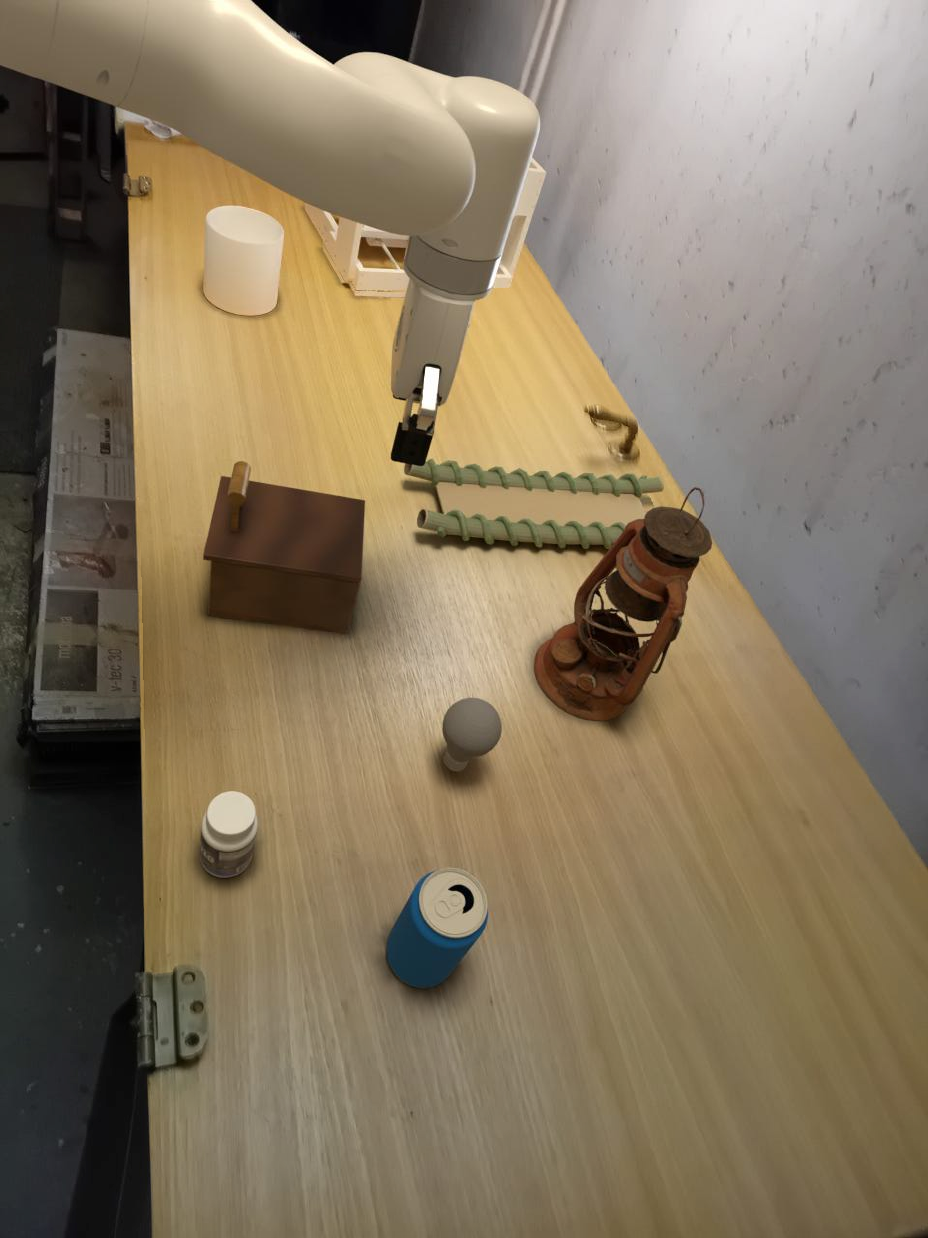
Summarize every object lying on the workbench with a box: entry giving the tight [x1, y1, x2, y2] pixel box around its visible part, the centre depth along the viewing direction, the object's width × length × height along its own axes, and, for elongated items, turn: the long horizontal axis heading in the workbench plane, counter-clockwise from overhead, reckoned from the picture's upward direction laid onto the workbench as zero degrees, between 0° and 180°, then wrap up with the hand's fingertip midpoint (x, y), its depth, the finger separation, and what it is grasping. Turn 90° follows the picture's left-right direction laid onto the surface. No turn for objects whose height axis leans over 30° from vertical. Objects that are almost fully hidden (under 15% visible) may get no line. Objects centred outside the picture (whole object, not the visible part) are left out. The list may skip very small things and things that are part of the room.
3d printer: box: [303, 157, 547, 298], centre depth 151 cm, size 35×32×25 cm
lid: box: [202, 460, 366, 584], centre depth 88 cm, size 16×13×7 cm
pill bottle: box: [199, 790, 259, 879], centre depth 72 cm, size 5×5×8 cm
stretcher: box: [403, 458, 665, 550], centre depth 116 cm, size 41×14×5 cm, turn 102°
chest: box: [207, 561, 361, 635], centre depth 94 cm, size 16×13×9 cm
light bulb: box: [441, 697, 503, 772], centre depth 84 cm, size 6×6×10 cm
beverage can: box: [385, 867, 489, 989], centre depth 69 cm, size 6×6×12 cm
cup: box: [202, 205, 285, 317], centre depth 130 cm, size 12×12×12 cm
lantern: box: [533, 486, 713, 722], centre depth 89 cm, size 17×13×30 cm
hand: (407, 429), depth 78 cm, fingers open, 9 cm apart
